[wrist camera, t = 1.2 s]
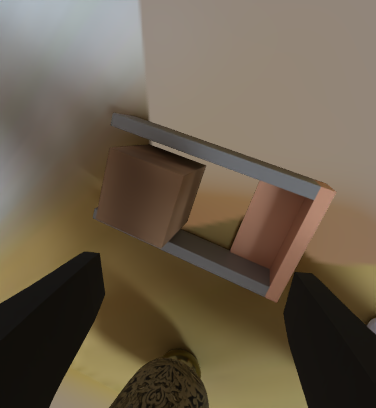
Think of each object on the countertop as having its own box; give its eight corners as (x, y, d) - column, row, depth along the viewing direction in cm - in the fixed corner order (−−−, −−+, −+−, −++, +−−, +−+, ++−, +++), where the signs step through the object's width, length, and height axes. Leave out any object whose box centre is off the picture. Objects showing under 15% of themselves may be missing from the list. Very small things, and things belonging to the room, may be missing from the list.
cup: (222, 406, 23) (198, 537, 15) (146, 382, 25) (94, 487, 17) (226, 337, 21) (201, 449, 13) (144, 318, 23) (83, 405, 15)
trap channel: (326, 183, 16) (336, 192, 13) (275, 281, 18) (276, 302, 16) (132, 115, 18) (113, 112, 16) (112, 209, 21) (92, 218, 19)
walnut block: (206, 165, 18) (183, 176, 13) (187, 221, 19) (161, 248, 15) (149, 144, 19) (109, 147, 14) (135, 199, 20) (95, 218, 16)
